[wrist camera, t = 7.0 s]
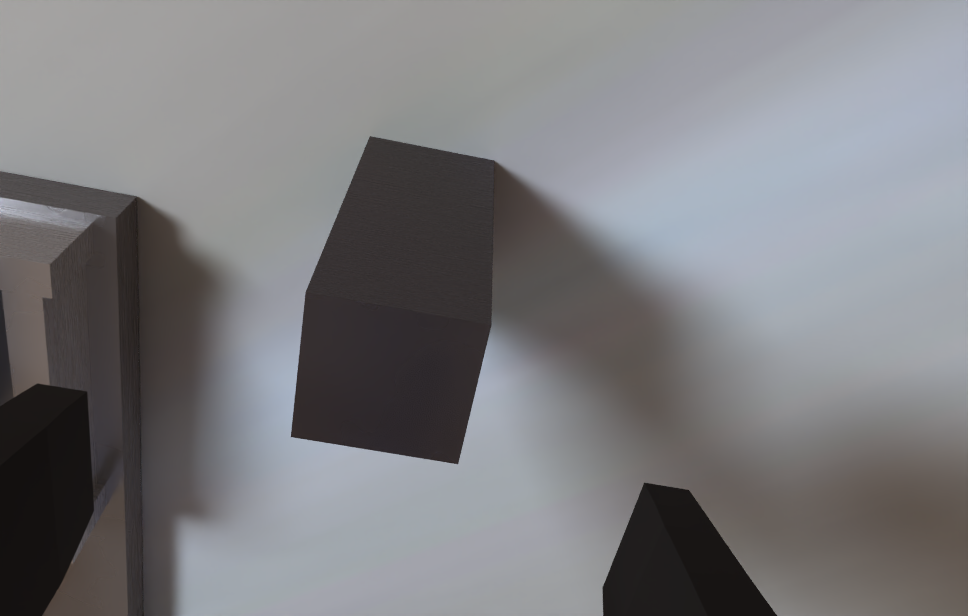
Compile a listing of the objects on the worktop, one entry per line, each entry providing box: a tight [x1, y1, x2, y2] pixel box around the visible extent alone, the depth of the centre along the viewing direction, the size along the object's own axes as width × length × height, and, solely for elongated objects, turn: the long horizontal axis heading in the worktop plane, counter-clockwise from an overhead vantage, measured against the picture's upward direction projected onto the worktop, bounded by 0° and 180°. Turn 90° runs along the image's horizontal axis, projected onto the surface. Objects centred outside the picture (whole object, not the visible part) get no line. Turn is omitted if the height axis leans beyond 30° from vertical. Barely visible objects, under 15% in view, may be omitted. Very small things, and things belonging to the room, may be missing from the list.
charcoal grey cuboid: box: [291, 136, 494, 464], centre depth 16 cm, size 3×3×7 cm
